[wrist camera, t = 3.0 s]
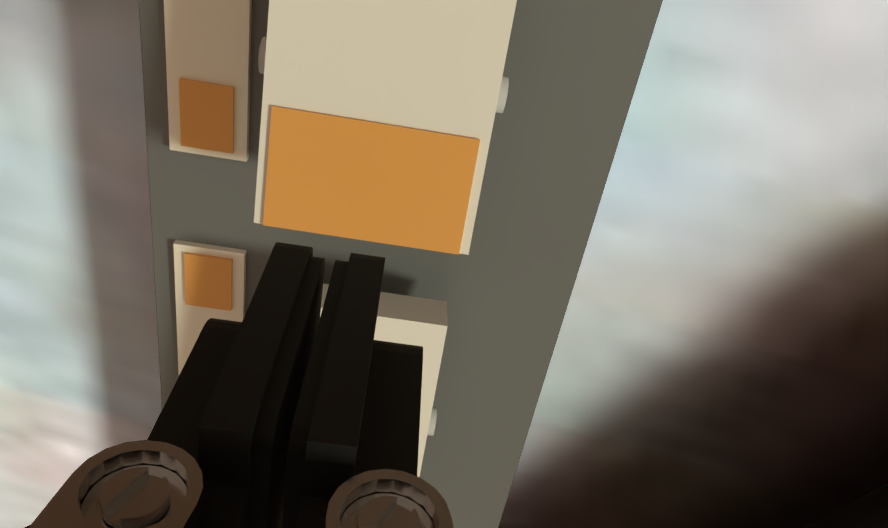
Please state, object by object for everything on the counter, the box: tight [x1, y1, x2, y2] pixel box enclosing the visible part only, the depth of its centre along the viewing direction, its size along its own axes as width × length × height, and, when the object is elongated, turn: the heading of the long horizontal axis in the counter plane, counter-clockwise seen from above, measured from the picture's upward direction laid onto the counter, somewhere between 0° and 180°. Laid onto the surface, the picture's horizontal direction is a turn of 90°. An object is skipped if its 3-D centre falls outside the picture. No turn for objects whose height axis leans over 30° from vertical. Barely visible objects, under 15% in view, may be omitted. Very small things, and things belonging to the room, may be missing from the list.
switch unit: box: [139, 0, 663, 528], centre depth 22 cm, size 28×11×4 cm, turn 171°
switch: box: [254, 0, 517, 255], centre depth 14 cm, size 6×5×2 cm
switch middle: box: [320, 283, 448, 477], centre depth 19 cm, size 6×5×2 cm
